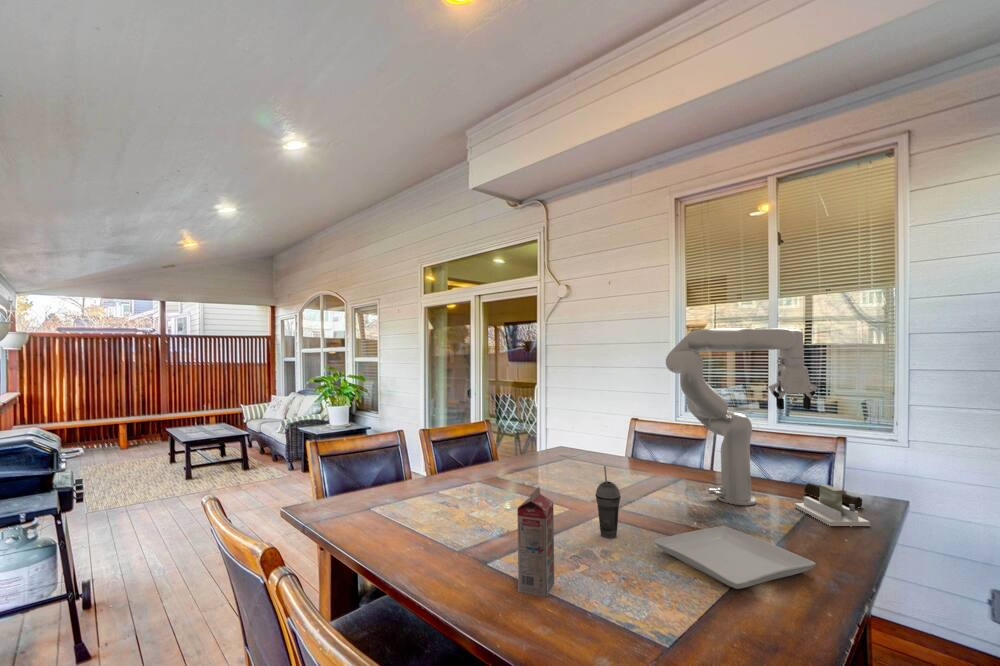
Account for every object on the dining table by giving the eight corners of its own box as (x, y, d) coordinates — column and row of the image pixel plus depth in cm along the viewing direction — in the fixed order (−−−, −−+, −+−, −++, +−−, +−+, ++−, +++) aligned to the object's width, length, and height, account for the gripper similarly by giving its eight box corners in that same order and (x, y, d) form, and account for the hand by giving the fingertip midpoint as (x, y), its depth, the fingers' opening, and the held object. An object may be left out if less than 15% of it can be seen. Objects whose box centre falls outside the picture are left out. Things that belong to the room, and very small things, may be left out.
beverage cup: (607, 542, 135) (605, 471, 135) (590, 533, 141) (589, 465, 142) (626, 537, 138) (625, 468, 139) (610, 529, 144) (608, 463, 145)
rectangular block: (835, 516, 150) (834, 490, 150) (820, 509, 157) (819, 484, 157) (842, 516, 150) (841, 490, 150) (827, 509, 157) (826, 484, 157)
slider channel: (830, 526, 145) (829, 507, 146) (794, 507, 163) (794, 490, 164) (869, 526, 145) (868, 507, 145) (829, 507, 163) (829, 490, 163)
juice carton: (518, 592, 107) (517, 493, 108) (527, 578, 113) (526, 485, 114) (546, 597, 105) (545, 495, 106) (554, 583, 111) (553, 487, 112)
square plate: (738, 601, 103) (737, 582, 103) (650, 553, 128) (650, 538, 128) (818, 576, 114) (818, 560, 114) (723, 537, 139) (723, 523, 139)
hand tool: (863, 508, 163) (863, 494, 163) (856, 510, 161) (855, 496, 161) (809, 493, 180) (809, 481, 180) (802, 495, 179) (802, 482, 179)
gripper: (774, 363, 174) (776, 410, 173) (822, 362, 173) (824, 410, 173) (763, 362, 181) (764, 408, 181) (809, 362, 181) (810, 407, 180)
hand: (793, 408), depth 177 cm, fingers open, 9 cm apart
